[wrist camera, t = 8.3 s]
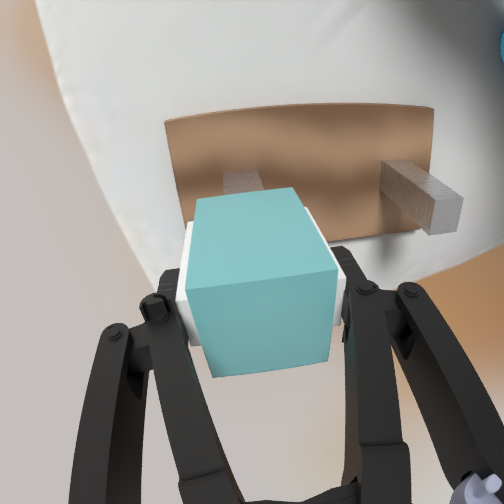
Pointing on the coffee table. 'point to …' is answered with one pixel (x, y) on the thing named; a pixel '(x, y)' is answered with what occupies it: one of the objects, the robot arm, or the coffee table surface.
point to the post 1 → (242, 182)
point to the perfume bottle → (502, 46)
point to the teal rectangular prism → (260, 283)
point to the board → (306, 158)
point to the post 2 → (421, 196)
